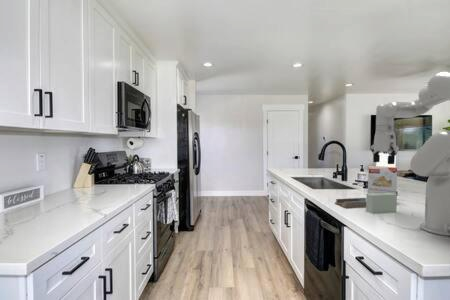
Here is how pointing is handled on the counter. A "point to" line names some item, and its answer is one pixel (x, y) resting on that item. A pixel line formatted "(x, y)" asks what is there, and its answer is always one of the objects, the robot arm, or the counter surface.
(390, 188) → the cracker box
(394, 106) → the robot arm
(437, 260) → the counter surface
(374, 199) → the pale green block
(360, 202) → the door track
